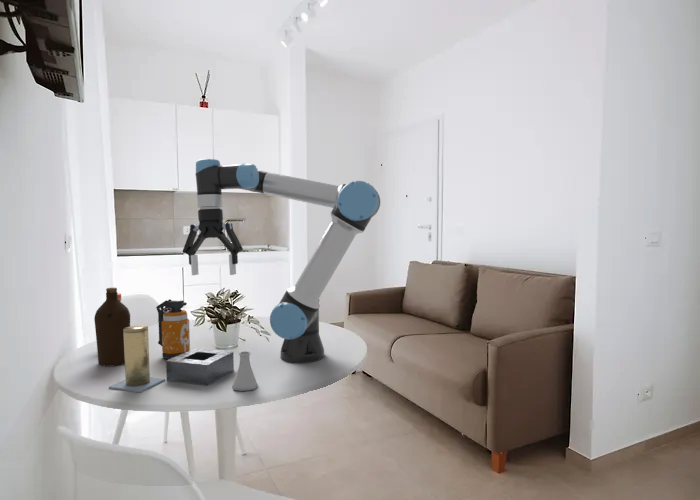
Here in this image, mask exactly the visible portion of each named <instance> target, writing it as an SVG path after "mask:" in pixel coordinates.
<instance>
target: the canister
mask: <svg viewBox="0 0 700 500" xmlns="http://www.w3.org/2000/svg"><path fill="white" fill-rule="evenodd" d="M185 306H187V302H184V300H172V299H171V298H170V299H168V300H167V299H166V300H164V301H162V302H161V303H160V304H159V305H157V306H155V308H156V311H157V313H158V314H157V315H158V317H157V321H158V342H157V344H158V345H160V347H161V351H162V353H161V354H162V358H164V359H167V360H169V359H171V358H174V357H176V356H178V355H181V354H183V353H185V352H188V351H190V350H191V344H190V342H191V339H190V333H191V332H190V319H189V318H188V312H187V310H185V309H183V308H184V307H185Z"/></svg>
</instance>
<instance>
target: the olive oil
mask: <svg viewBox="0 0 700 500" xmlns="http://www.w3.org/2000/svg"><path fill="white" fill-rule="evenodd" d="M105 291H106V293H105V301H104V302H103V303H102V304H101V305H100V306H99V307H98V308H97V309H96V311H95V315H94V319H93V320H94V329H95V339H96V351H97V363H98V365H99V366H101V367H117V366H121V365H125V355H124V332H123V329H124V328H126V327H130V326H131V313H130V311H129V308H128V307H127V305H125V304H124V303H123V302H121V301H119V300H118V298H117V296H118V295H117V293H118V288H117V287H107V288H106V289H105Z"/></svg>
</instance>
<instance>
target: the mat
mask: <svg viewBox="0 0 700 500" xmlns="http://www.w3.org/2000/svg"><path fill="white" fill-rule="evenodd" d="M165 381H166V378H162V377H151V376H150V382H149V383H147V384H144V385H140V386H127V385H126V378H125V379H123V380H121V381H118V382H116V383H114V384H112V385H109V386H108V389H111V390H119V391H127V392H134V393H142V392H144V391H146V390H149V389H151V388H154V387H156V386H157V385H158V384H159V385H160V384H161V383H163V382H165Z"/></svg>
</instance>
